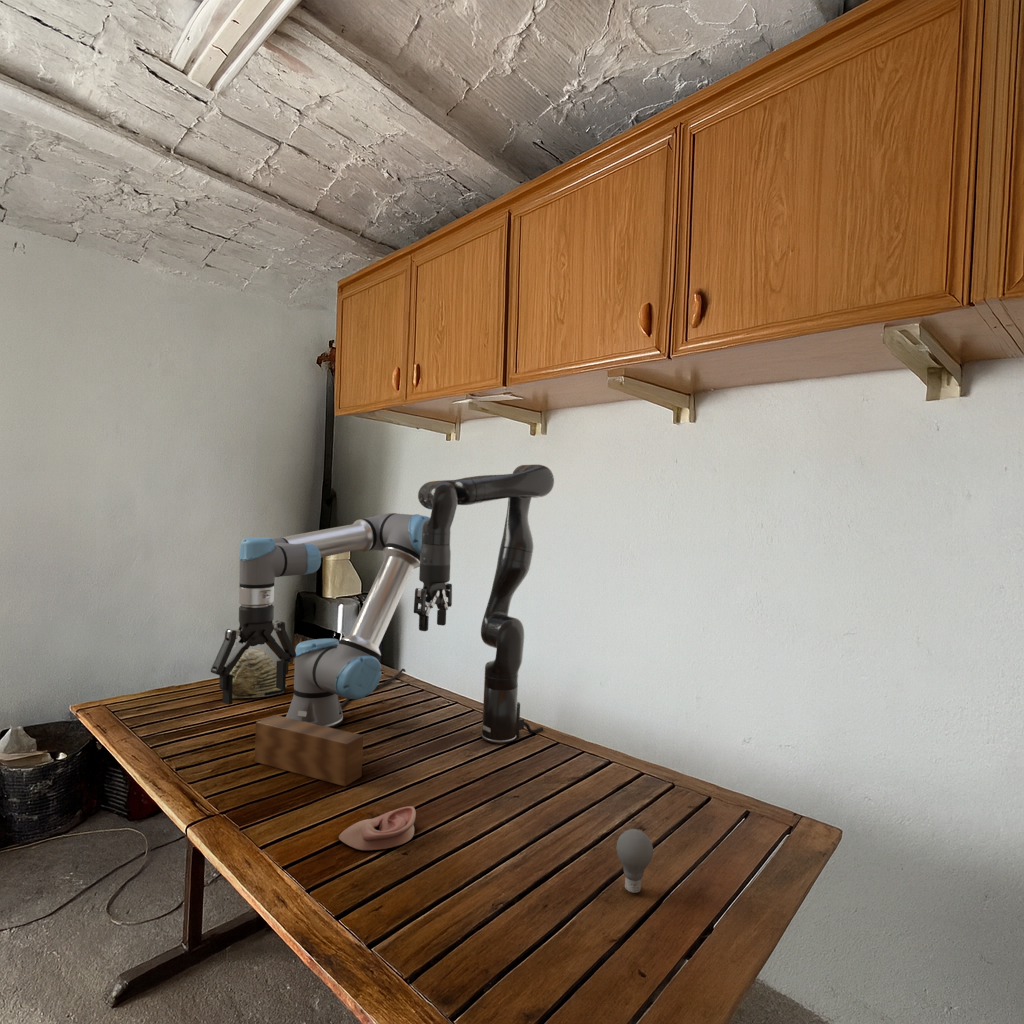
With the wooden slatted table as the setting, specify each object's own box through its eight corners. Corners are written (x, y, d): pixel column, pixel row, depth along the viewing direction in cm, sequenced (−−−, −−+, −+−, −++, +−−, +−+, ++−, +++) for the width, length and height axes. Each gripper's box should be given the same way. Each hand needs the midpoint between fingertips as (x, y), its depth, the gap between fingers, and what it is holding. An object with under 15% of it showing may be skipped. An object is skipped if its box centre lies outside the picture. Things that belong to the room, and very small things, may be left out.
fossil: (218, 695, 195) (220, 647, 195) (278, 685, 208) (279, 640, 207) (228, 703, 189) (230, 653, 188) (289, 692, 201) (290, 645, 201)
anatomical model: (331, 824, 115) (359, 795, 126) (330, 845, 115) (358, 815, 126) (400, 835, 112) (422, 805, 124) (399, 857, 112) (421, 825, 124)
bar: (254, 761, 150) (255, 721, 149) (273, 753, 155) (274, 714, 155) (345, 786, 139) (346, 743, 139) (361, 776, 144) (363, 735, 144)
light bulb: (610, 879, 108) (613, 822, 108) (644, 879, 109) (647, 822, 109) (619, 902, 102) (622, 840, 102) (655, 901, 103) (658, 840, 103)
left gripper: (213, 614, 134) (211, 713, 134) (312, 600, 154) (310, 686, 155) (194, 609, 138) (193, 705, 139) (293, 596, 158) (291, 680, 159)
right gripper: (433, 565, 148) (430, 635, 148) (462, 561, 161) (459, 624, 161) (406, 563, 151) (403, 631, 151) (436, 559, 164) (434, 621, 164)
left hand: (255, 695), depth 147 cm, fingers open, 13 cm apart
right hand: (432, 627), depth 156 cm, fingers open, 8 cm apart
